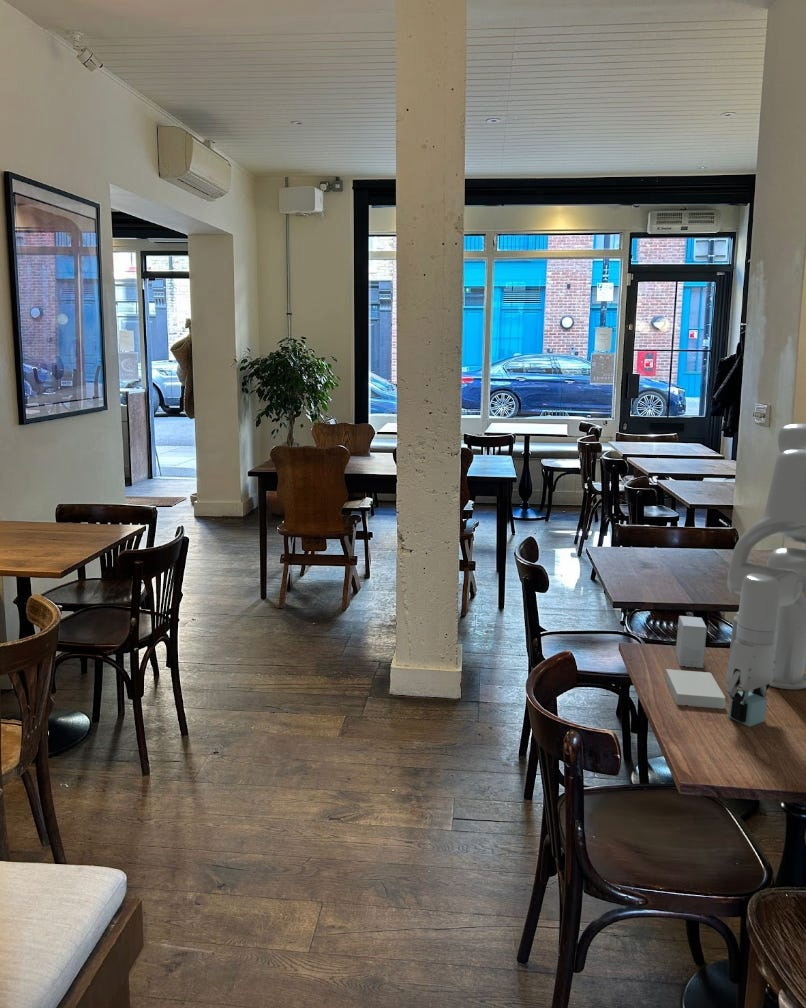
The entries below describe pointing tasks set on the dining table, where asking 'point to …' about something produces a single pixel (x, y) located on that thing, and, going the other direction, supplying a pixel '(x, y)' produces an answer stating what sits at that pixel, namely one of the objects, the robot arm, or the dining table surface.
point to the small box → (691, 641)
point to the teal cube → (753, 709)
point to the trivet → (694, 689)
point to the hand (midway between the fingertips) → (746, 715)
